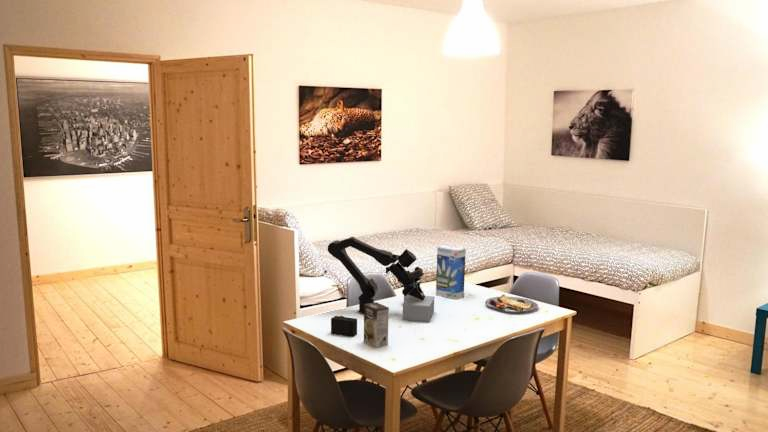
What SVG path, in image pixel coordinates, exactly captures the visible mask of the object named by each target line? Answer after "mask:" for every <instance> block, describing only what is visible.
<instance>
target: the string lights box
mask: <svg viewBox="0 0 768 432" xmlns="http://www.w3.org/2000/svg"><path fill="white" fill-rule="evenodd" d="M466 250H467V249H466V247H464V248H463V247H460V246H454V245H448V244H443V245H439V246H437V250H436V254H437V255H436V276H435V277H436V279H435V280H436V281H435V285H436V286H435V295H436V296H439V297H443V298H449V299H453V300H458V299H462V298H464V297H465V276H466V275H465V271H466V270H465V269H466V252H467V251H466Z"/></svg>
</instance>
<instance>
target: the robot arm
mask: <svg viewBox="0 0 768 432" xmlns="http://www.w3.org/2000/svg"><path fill="white" fill-rule="evenodd" d="M348 248H353V249H355V250H357V251H359V252H361V253H363V254H365V255H368V256H370V258H371V257H372V258H373V259H374V260H375V261H376V262H378V264H380V265H382V266H384V267H385V274H388V273H389V272H390V273H391V274H392V275H393V276H394V278H396V279H397V282H398V283H400V284H401V285H402V286H403V289H402V290H401V291H402V292H401V293H402V295H403V297H404V296H406V295H407V294H408V295H411V296H413V297H416V298H418V299H420V300H424V298H425V296H426V295H425V293H424V291H423V289H422V287H421V281H420V280H421V279H422V278H423V276H424V272H423V269H422V267H419V266H415V268H414V270H413V271H410V270H406V268H409V267H410V266H411V265H413V264H414V262H416V261H417V260H418V259H417V257H416V255H415V254H414V253H413V252H411V251H410V250H408V249H407V248H405V249H404V251H403V252H402V253H401V254H400V255H398V254H393V252H392V251H388V250H386V249H380V248H379V249H378V248H376V247H374V246H372V245H370V244H368V243H366V242H364V241H361V240H359V239H358V238H356V237H354V236H350V237H349V238H344V239H342V240H337V239H336V240H334V241H331V242H330V243H329V244H328V245H327V252H328V253H329V254H330V255H331V256H332V257H333V258H335V259H337V260H338V261H339V262H340V263H341V264H342V266H344V267H345V269H346V270H347V272H348V273H349V274H350V275H351V276H352V277H353V279H354V280H355V281H356V282H357V284H358V286H359V289H360V291H361V294H360V295H359V296H358V301H359V302H358V303H359V306H358V307H359V309H358V310H357V313H359V314H363V315H364V304H368V303H375V299H374V297H375V296H376V295H377V294H378V292H379V287H378V283H376V282H375V280H374V279H373V278H372V277H371V278H370V279H369V278H367V277H366V276H365V275H364V273H363V272H362V271H361V269H360V268H359V267H358V266H357V265H356V264H355V262H354V261H353V260H352V259H351V257H350V256H349V255H348V252H347V250H346V249H348ZM418 281H419V282H418ZM417 282H418V283H417ZM421 293H423V296H422V295H421Z"/></svg>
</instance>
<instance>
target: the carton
mask: <svg viewBox="0 0 768 432" xmlns="http://www.w3.org/2000/svg"><path fill="white" fill-rule="evenodd" d="M434 313H435V299H434V300H433V302H432V304H431V306H430V307H417V306H403V305H402V321H405V322H407V321H408V322H417V323H418V322H419V323H430V321H431V319H432V317H433V316H434Z"/></svg>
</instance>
